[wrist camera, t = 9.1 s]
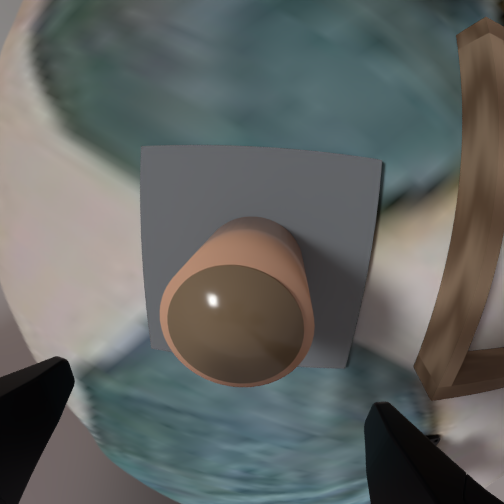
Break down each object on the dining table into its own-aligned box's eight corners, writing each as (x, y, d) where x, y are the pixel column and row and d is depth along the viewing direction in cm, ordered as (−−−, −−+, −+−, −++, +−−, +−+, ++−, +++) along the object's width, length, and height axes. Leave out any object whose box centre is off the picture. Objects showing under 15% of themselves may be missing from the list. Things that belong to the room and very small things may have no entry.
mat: (344, 365, 20) (345, 368, 19) (152, 346, 21) (151, 348, 20) (380, 160, 15) (382, 160, 15) (143, 146, 17) (141, 146, 16)
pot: (297, 315, 18) (302, 395, 12) (203, 306, 19) (165, 378, 12) (308, 220, 17) (326, 262, 10) (203, 213, 17) (152, 248, 10)
